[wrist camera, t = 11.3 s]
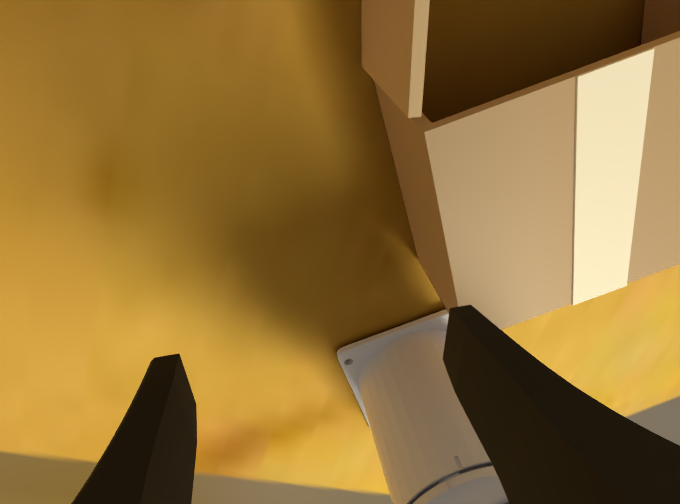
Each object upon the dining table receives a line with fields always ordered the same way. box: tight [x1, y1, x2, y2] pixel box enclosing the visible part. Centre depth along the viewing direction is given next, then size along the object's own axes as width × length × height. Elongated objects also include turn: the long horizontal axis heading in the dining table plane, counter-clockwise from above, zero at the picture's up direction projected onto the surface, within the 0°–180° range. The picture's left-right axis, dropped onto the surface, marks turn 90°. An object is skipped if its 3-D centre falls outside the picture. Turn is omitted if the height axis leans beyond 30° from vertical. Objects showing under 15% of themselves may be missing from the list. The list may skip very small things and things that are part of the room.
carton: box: [374, 0, 680, 330], centre depth 20 cm, size 10×12×6 cm
